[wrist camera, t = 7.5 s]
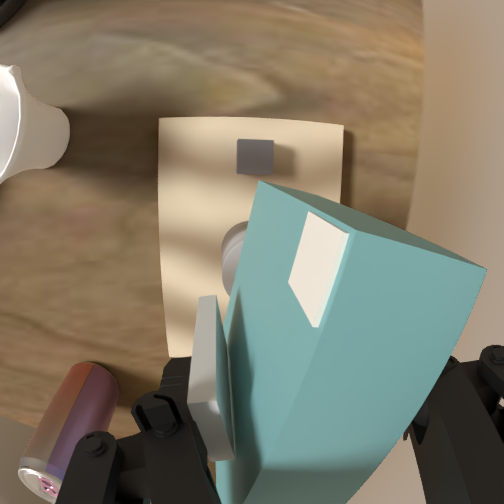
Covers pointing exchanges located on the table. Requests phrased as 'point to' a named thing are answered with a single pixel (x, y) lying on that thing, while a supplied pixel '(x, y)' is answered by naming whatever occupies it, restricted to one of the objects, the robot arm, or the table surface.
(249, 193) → the post base
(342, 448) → the teal rectangular panel
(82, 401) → the beverage can
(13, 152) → the cup
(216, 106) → the table surface
